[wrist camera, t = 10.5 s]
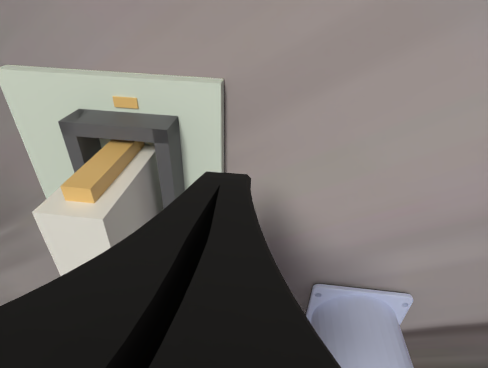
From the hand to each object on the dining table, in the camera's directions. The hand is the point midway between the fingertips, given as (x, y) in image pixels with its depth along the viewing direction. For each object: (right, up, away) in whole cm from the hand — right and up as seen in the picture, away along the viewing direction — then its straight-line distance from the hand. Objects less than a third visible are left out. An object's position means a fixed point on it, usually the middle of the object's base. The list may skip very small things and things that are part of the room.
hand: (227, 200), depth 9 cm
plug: (-6, +1, +11) cm, 13 cm away
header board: (-7, 0, +13) cm, 15 cm away
